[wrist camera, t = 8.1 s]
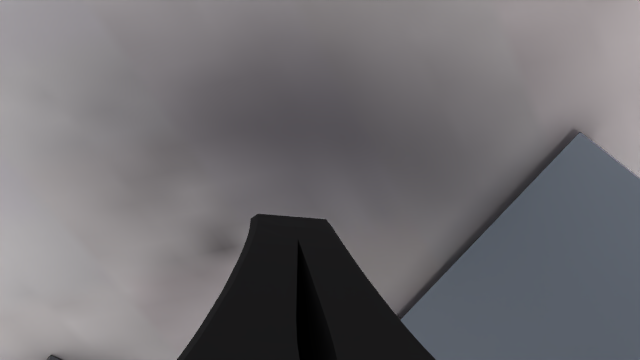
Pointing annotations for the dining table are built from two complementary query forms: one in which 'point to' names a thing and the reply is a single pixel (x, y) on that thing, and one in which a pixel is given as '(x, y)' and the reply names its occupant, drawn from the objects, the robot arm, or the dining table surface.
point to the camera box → (52, 358)
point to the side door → (546, 272)
